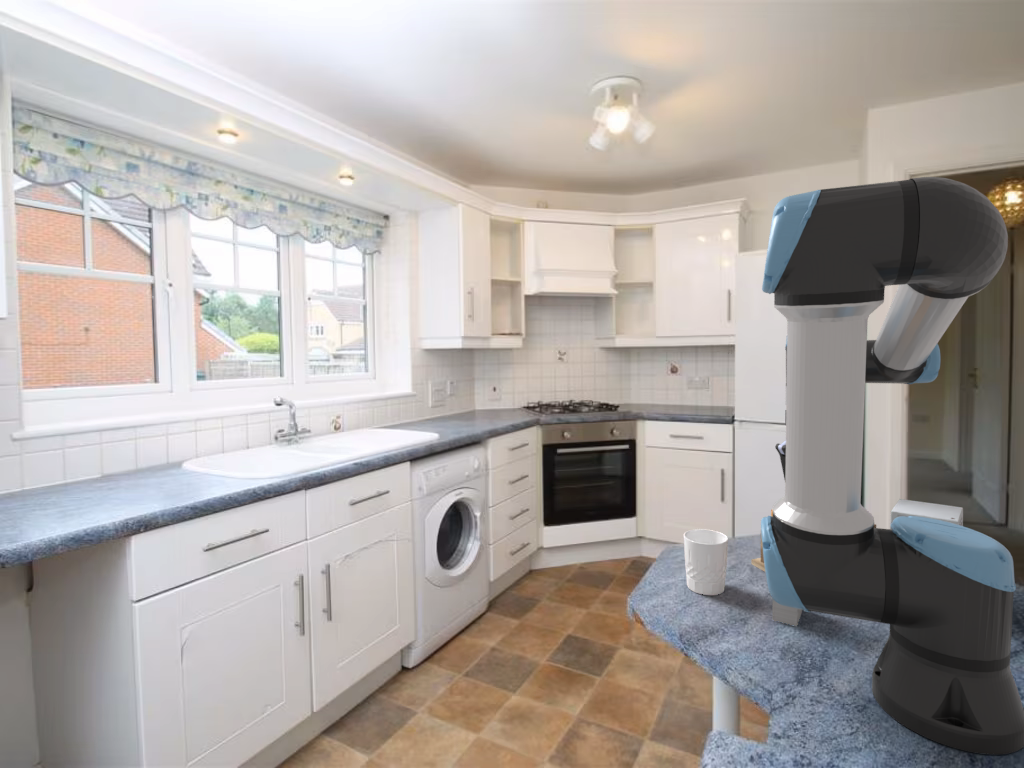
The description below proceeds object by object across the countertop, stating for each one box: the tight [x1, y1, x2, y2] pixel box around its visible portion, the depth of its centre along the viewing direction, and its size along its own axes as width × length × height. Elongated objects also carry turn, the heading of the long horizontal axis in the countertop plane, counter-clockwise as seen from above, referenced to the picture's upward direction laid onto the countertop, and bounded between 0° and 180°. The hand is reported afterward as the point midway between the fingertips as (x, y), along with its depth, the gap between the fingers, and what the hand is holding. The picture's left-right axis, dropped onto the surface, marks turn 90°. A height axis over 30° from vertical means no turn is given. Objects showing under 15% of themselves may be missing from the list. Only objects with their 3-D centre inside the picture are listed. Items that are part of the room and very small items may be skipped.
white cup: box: [683, 528, 729, 596], centre depth 102 cm, size 8×8×10 cm
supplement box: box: [889, 498, 964, 529], centre depth 93 cm, size 10×9×17 cm
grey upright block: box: [771, 597, 803, 627], centre depth 91 cm, size 4×7×10 cm, turn 145°
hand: (805, 523), depth 110 cm, fingers closed
